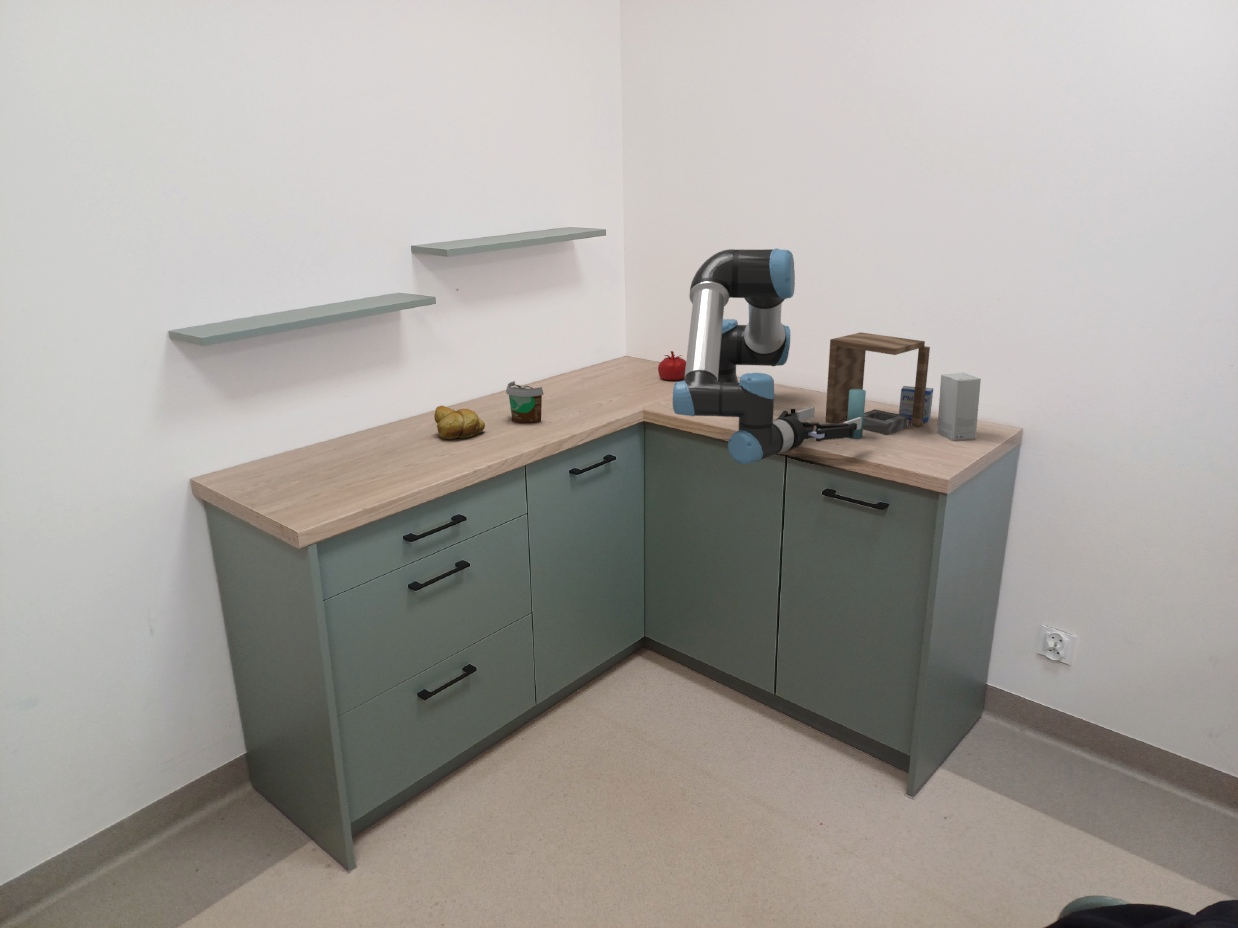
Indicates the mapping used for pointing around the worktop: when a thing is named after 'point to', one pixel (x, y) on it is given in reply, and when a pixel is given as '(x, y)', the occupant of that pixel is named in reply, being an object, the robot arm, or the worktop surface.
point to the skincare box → (958, 406)
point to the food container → (525, 403)
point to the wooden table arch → (850, 375)
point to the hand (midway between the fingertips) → (836, 417)
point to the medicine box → (908, 401)
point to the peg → (856, 409)
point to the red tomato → (672, 368)
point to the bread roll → (457, 422)
